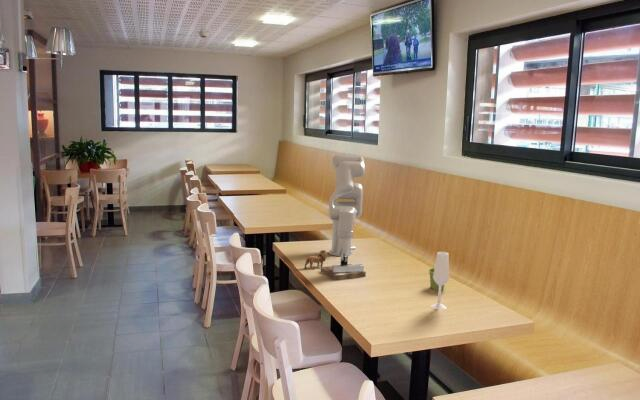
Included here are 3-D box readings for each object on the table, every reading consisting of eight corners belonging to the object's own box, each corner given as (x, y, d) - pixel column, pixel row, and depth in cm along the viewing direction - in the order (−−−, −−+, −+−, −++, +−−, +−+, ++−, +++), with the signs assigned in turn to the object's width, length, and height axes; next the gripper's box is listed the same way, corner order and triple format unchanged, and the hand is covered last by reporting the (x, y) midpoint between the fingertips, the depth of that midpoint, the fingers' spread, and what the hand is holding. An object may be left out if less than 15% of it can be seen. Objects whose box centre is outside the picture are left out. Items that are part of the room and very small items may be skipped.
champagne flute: (449, 309, 218) (454, 255, 214) (435, 310, 216) (439, 255, 212) (441, 303, 224) (445, 250, 220) (427, 304, 222) (431, 251, 218)
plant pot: (448, 286, 248) (449, 269, 246) (446, 292, 239) (447, 275, 238) (428, 284, 251) (429, 267, 249) (426, 289, 242) (427, 272, 241)
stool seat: (350, 268, 272) (350, 263, 272) (365, 276, 259) (365, 271, 258) (320, 271, 264) (320, 267, 263) (334, 280, 251) (334, 275, 250)
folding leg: (362, 269, 260) (362, 264, 260) (363, 271, 258) (364, 265, 258) (331, 271, 256) (332, 265, 256) (333, 272, 254) (333, 266, 253)
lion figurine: (322, 264, 277) (323, 248, 276) (328, 266, 273) (329, 250, 272) (301, 268, 268) (301, 252, 266) (307, 271, 264) (308, 254, 262)
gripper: (342, 229, 265) (340, 263, 268) (334, 236, 251) (332, 272, 254) (356, 231, 263) (354, 265, 266) (349, 238, 248) (347, 274, 252)
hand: (343, 268), depth 260 cm, fingers closed
